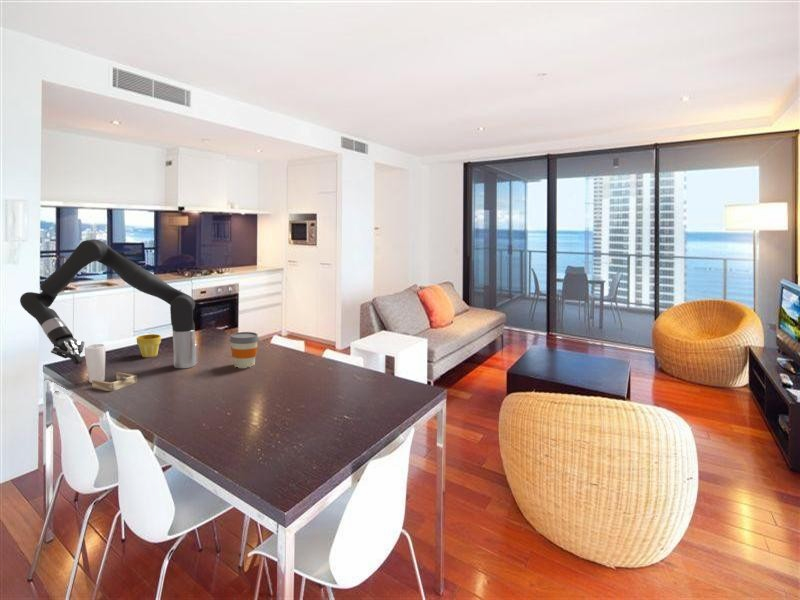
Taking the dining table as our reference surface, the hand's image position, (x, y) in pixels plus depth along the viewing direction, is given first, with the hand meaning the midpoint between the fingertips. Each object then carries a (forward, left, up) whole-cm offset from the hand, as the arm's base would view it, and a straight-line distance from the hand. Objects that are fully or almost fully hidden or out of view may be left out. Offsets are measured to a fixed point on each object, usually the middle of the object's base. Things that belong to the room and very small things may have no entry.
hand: (79, 363), depth 179 cm
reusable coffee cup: (-43, +48, -7) cm, 65 cm away
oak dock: (0, +19, -6) cm, 20 cm away
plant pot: (-36, -3, -7) cm, 37 cm away
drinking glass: (0, +9, -7) cm, 11 cm away
